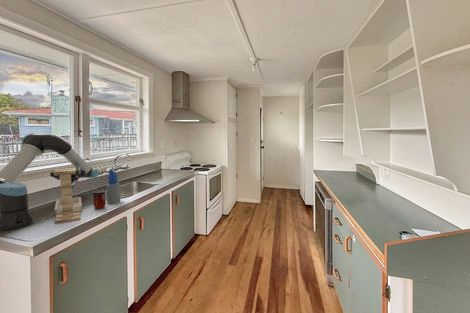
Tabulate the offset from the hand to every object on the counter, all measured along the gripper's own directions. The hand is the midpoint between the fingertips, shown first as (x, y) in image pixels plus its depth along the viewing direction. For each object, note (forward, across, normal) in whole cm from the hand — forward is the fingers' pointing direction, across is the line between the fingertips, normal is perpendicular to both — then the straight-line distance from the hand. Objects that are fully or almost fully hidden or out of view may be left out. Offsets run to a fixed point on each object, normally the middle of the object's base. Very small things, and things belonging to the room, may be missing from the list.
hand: (67, 169), depth 156 cm
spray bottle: (-9, -27, -26) cm, 38 cm away
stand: (+10, 0, -37) cm, 39 cm away
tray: (-9, 0, -26) cm, 27 cm away
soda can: (-1, -17, -31) cm, 35 cm away
